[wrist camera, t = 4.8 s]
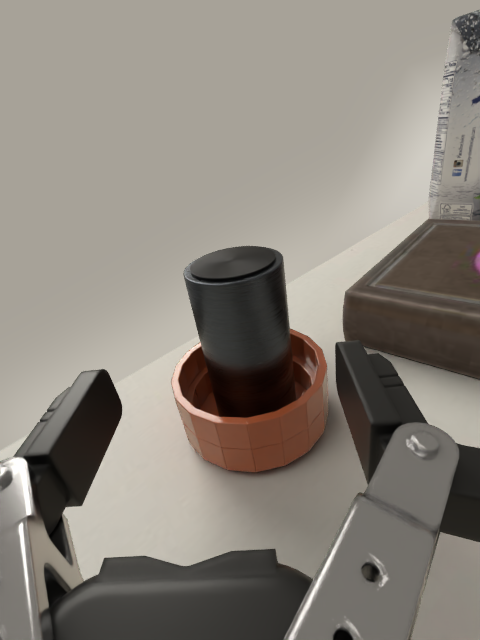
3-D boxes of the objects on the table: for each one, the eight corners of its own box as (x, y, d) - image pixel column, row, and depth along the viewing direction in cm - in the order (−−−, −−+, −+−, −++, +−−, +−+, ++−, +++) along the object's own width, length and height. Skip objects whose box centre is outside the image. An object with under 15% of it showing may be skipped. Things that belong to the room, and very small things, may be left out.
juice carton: (420, 227, 53) (445, 4, 40) (442, 210, 59) (471, 11, 46) (486, 232, 48) (542, -28, 34) (504, 212, 54) (557, -15, 40)
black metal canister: (205, 429, 23) (162, 280, 18) (236, 377, 27) (210, 245, 22) (284, 446, 21) (264, 282, 15) (304, 386, 25) (293, 242, 20)
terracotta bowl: (160, 457, 22) (139, 407, 20) (221, 363, 30) (212, 320, 28) (312, 497, 18) (307, 441, 16) (337, 377, 26) (336, 329, 24)
